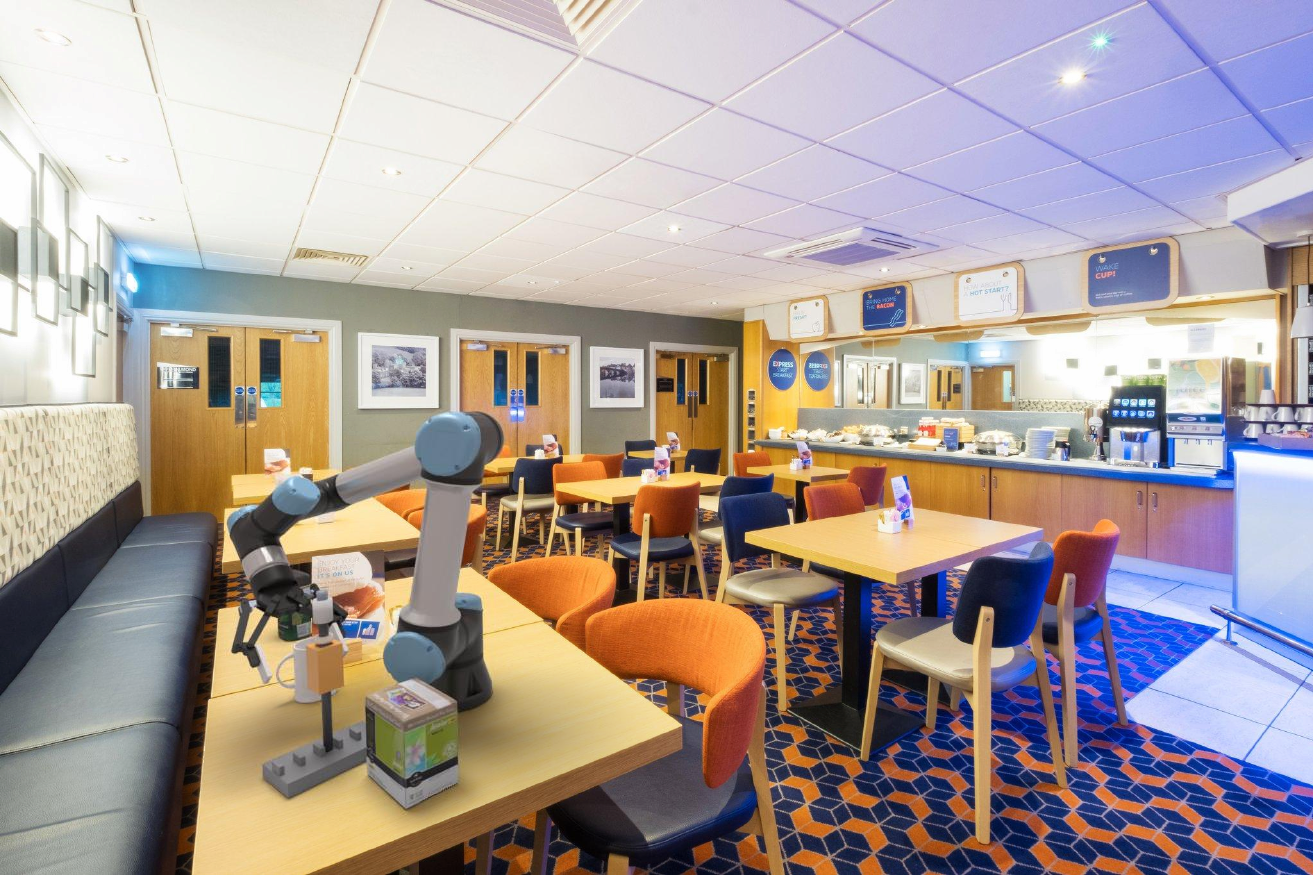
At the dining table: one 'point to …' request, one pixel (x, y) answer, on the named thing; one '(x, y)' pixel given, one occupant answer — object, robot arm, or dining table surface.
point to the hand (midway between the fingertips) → (308, 666)
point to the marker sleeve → (324, 667)
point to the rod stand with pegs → (334, 748)
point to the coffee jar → (296, 615)
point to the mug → (300, 673)
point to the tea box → (411, 740)
